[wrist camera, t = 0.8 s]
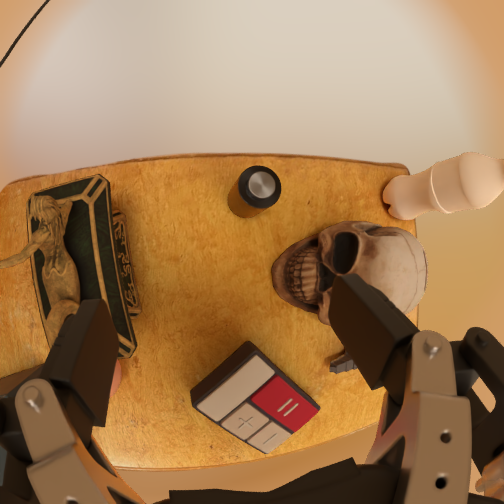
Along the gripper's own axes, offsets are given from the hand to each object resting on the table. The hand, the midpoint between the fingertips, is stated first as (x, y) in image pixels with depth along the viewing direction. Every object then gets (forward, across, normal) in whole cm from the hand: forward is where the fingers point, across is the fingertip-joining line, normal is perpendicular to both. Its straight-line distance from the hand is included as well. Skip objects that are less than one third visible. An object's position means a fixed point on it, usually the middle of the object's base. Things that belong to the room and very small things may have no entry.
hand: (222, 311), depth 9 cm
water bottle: (+27, -30, +4) cm, 41 cm away
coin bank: (+22, -18, +13) cm, 31 cm away
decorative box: (+21, +13, +11) cm, 27 cm away
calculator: (+14, -4, +28) cm, 32 cm away
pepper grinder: (+26, -5, +3) cm, 27 cm away
